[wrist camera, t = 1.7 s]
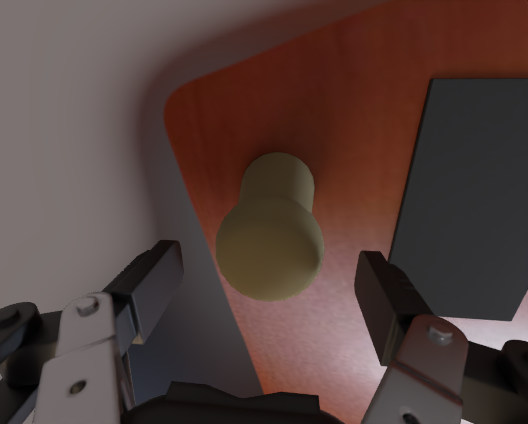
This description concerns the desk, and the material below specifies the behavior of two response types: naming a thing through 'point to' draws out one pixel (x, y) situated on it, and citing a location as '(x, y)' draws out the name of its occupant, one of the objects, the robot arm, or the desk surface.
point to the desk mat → (468, 200)
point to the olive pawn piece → (272, 231)
